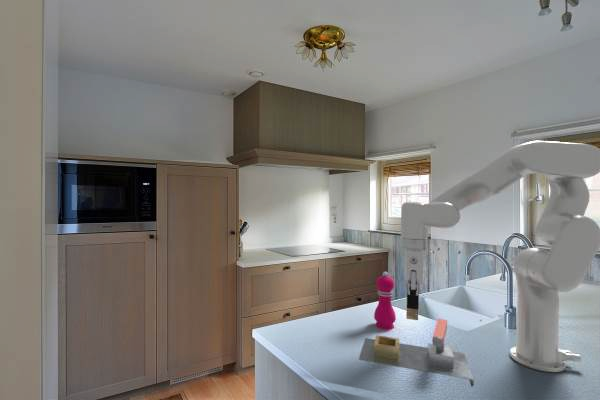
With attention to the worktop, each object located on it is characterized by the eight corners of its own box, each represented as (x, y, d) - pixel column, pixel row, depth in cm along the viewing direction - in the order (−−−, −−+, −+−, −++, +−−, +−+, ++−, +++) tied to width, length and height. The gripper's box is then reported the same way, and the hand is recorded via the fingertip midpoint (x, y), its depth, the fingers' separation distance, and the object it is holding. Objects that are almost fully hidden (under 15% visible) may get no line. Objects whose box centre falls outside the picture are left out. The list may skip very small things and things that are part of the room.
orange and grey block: (437, 338, 93) (437, 317, 93) (447, 340, 92) (447, 319, 92) (431, 362, 80) (431, 337, 80) (442, 365, 79) (443, 339, 79)
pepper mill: (396, 334, 106) (397, 274, 105) (374, 332, 107) (375, 273, 107) (394, 326, 113) (395, 270, 112) (373, 324, 114) (374, 268, 114)
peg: (417, 316, 95) (418, 276, 94) (418, 320, 92) (419, 278, 91) (406, 314, 96) (407, 275, 95) (406, 318, 93) (407, 277, 92)
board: (464, 357, 91) (464, 342, 91) (473, 384, 78) (473, 367, 78) (365, 341, 100) (365, 328, 100) (358, 363, 87) (358, 348, 87)
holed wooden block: (399, 348, 93) (399, 338, 93) (398, 359, 87) (398, 348, 87) (376, 345, 95) (376, 335, 95) (373, 355, 89) (374, 344, 89)
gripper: (429, 249, 84) (427, 318, 85) (426, 241, 100) (424, 299, 100) (399, 247, 87) (398, 314, 87) (401, 240, 102) (400, 296, 103)
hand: (412, 305), depth 94 cm, fingers closed on peg, 3 cm apart
